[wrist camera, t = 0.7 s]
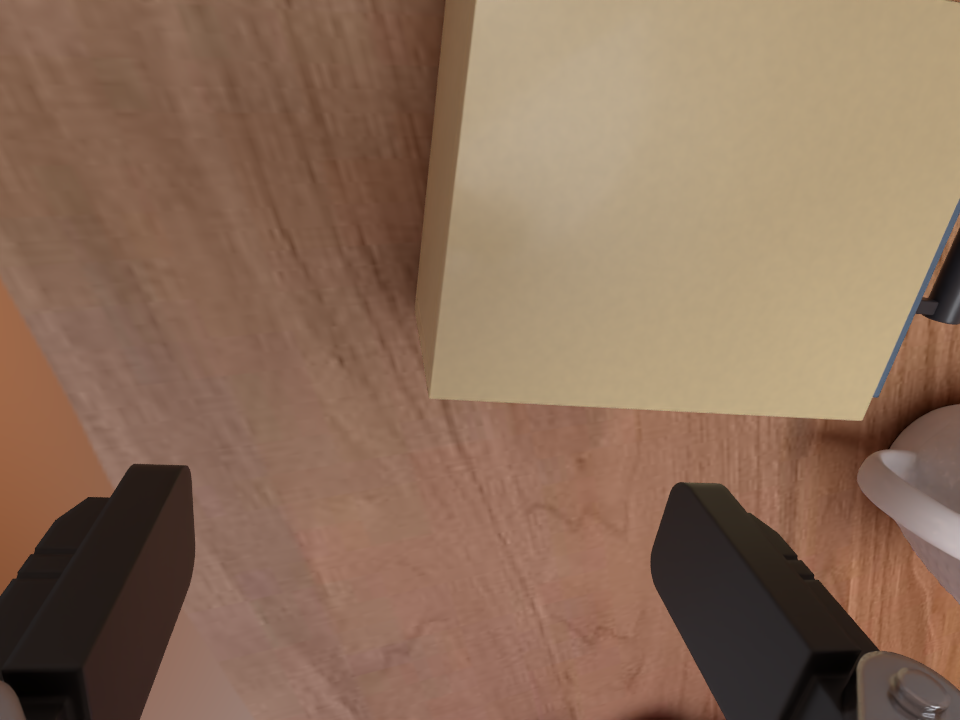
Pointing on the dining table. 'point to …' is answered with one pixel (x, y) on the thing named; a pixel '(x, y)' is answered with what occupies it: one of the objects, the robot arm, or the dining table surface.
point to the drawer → (935, 293)
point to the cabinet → (684, 200)
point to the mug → (923, 490)
